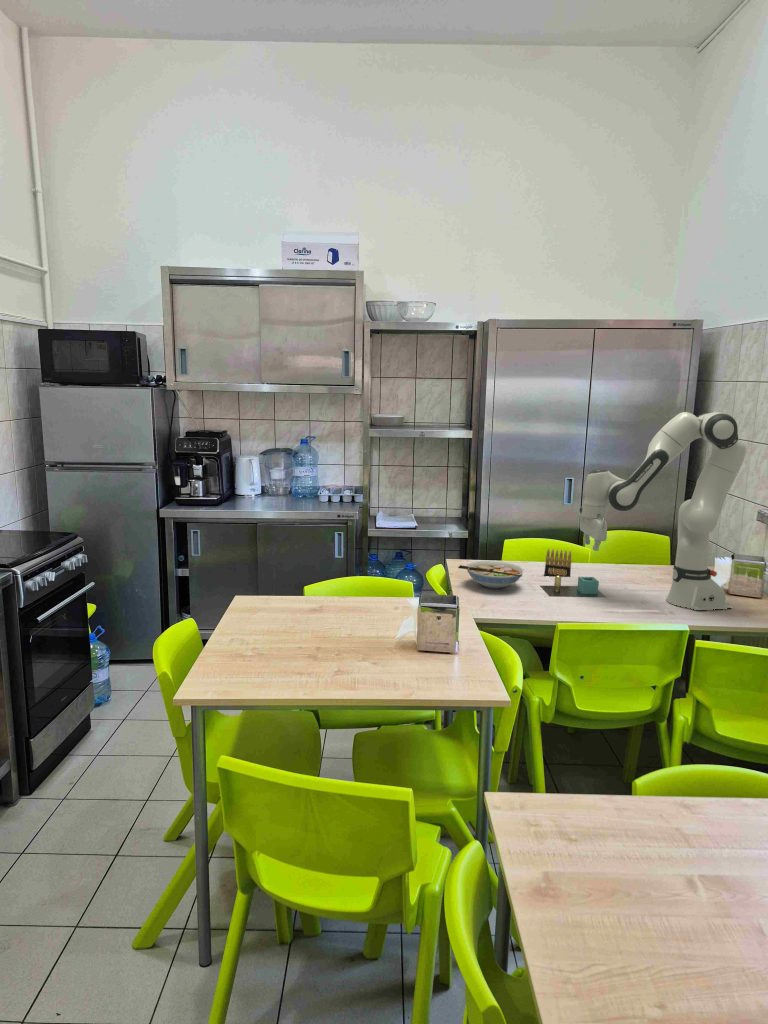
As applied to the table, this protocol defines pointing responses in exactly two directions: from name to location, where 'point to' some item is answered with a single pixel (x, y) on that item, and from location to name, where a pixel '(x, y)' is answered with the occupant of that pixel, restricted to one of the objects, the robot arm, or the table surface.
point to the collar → (588, 585)
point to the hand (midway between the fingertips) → (591, 547)
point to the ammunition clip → (558, 564)
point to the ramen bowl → (494, 573)
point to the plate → (566, 590)
